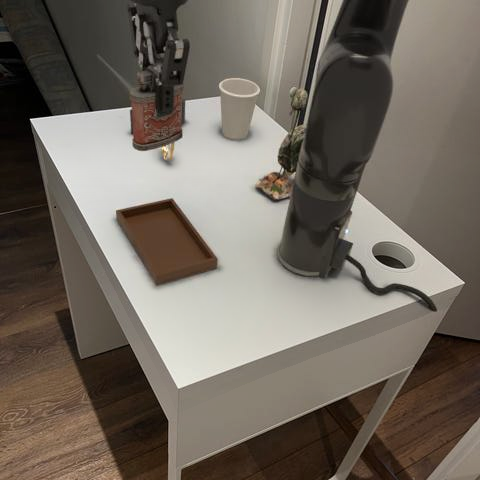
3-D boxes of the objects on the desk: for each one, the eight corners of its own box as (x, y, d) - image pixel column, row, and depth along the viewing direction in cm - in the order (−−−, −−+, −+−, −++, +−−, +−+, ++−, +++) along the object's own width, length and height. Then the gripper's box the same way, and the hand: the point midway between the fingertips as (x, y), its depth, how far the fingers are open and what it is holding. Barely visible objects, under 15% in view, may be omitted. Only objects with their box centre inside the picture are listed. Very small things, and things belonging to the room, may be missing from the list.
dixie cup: (236, 120, 113) (240, 74, 105) (261, 136, 109) (268, 90, 102) (207, 129, 108) (210, 82, 101) (233, 146, 105) (238, 99, 97)
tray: (216, 268, 79) (217, 258, 77) (156, 285, 75) (156, 275, 73) (172, 207, 88) (172, 197, 87) (116, 220, 84) (115, 210, 83)
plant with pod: (316, 190, 97) (343, 86, 82) (270, 205, 92) (290, 96, 77) (291, 169, 101) (312, 66, 86) (245, 182, 96) (259, 75, 81)
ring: (177, 167, 97) (178, 128, 91) (161, 168, 96) (160, 129, 90) (170, 149, 101) (171, 110, 95) (155, 150, 100) (154, 111, 94)
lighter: (142, 154, 68) (139, 78, 60) (127, 143, 69) (122, 68, 62) (187, 137, 72) (189, 65, 64) (172, 128, 73) (173, 56, 66)
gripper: (100, -69, 56) (112, 85, 69) (148, -32, 49) (152, 134, 61) (161, -68, 59) (162, 79, 72) (216, -33, 52) (206, 125, 64)
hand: (157, 104), depth 67 cm, fingers closed on lighter, 4 cm apart
